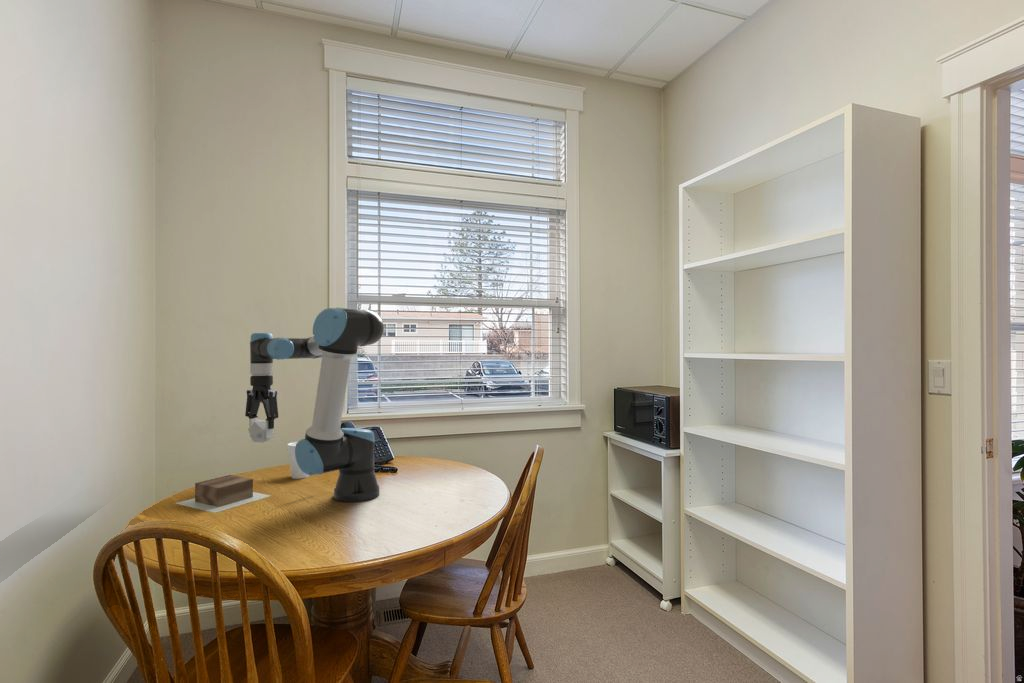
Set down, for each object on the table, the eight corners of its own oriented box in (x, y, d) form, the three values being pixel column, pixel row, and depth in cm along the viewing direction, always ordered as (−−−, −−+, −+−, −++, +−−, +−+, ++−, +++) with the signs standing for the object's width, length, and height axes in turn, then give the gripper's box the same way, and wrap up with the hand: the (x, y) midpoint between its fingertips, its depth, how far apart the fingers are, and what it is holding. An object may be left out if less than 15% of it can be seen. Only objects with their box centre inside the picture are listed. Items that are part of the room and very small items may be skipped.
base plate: (271, 498, 176) (271, 495, 176) (214, 516, 158) (214, 512, 158) (233, 490, 185) (233, 487, 185) (175, 506, 167) (175, 503, 167)
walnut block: (252, 497, 174) (252, 479, 174) (218, 507, 164) (218, 488, 164) (229, 492, 180) (229, 474, 180) (195, 501, 169) (195, 483, 169)
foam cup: (296, 473, 210) (296, 440, 210) (317, 474, 209) (317, 441, 209) (282, 479, 201) (282, 445, 201) (305, 480, 200) (305, 446, 200)
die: (248, 446, 186) (265, 424, 186) (239, 432, 191) (255, 411, 191) (267, 450, 193) (283, 429, 193) (257, 437, 197) (273, 416, 198)
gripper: (289, 374, 191) (289, 437, 190) (252, 373, 200) (252, 433, 200) (271, 376, 184) (271, 440, 184) (234, 374, 193) (234, 436, 193)
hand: (261, 436), depth 192 cm, fingers closed on die, 8 cm apart
